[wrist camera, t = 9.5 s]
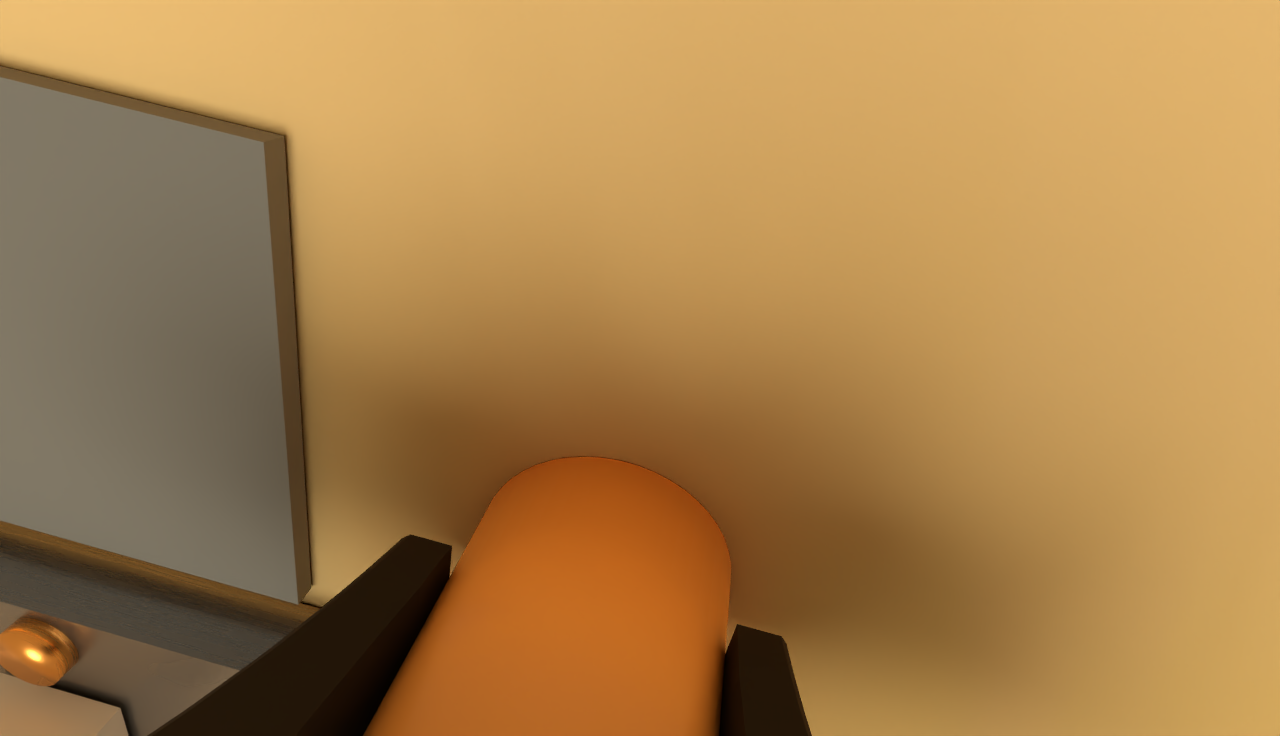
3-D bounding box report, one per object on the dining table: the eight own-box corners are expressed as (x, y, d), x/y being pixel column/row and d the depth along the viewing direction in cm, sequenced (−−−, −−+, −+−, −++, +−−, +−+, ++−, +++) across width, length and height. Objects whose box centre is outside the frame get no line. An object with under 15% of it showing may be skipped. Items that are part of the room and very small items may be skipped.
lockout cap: (741, 472, 10) (715, 857, 6) (721, 664, 12) (690, 1061, 7) (469, 442, 10) (252, 770, 6) (493, 629, 12) (341, 979, 8)
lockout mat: (284, 135, 9) (263, 143, 8) (311, 587, 13) (298, 604, 12) (-304, -10, 9) (-348, -9, 9) (-97, 472, 13) (-122, 486, 13)
